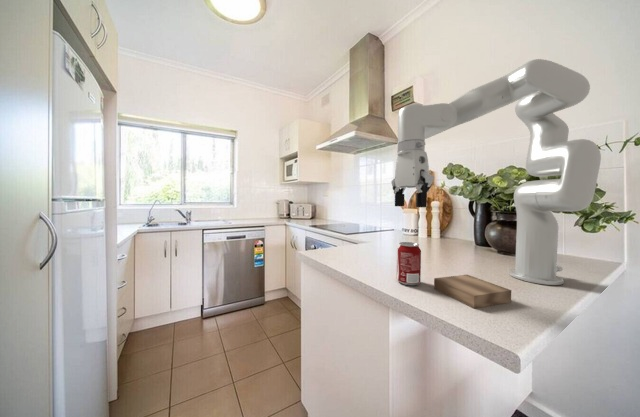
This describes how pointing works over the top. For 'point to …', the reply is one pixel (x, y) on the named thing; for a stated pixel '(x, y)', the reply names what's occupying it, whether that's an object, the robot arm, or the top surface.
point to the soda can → (408, 263)
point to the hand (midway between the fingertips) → (409, 206)
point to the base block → (472, 291)
